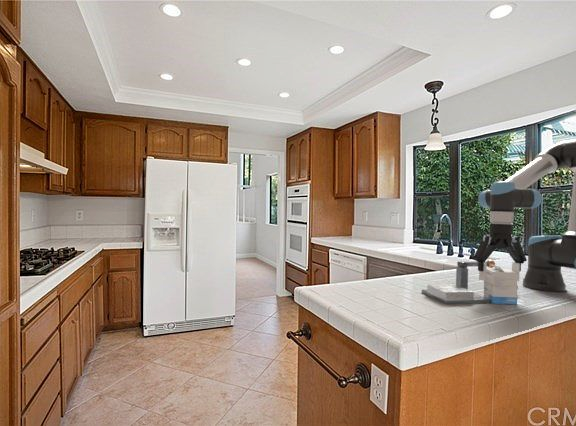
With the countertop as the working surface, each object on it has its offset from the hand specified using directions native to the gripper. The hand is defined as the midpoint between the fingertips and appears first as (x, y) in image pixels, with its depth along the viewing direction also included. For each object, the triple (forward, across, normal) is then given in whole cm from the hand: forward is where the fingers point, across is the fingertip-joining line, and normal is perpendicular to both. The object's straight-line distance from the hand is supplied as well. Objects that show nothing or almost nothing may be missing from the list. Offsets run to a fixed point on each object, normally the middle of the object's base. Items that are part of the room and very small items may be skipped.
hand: (499, 280), depth 124 cm
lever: (-3, +1, -11) cm, 11 cm away
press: (+8, +14, -6) cm, 17 cm away
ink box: (+8, -1, 0) cm, 8 cm away
